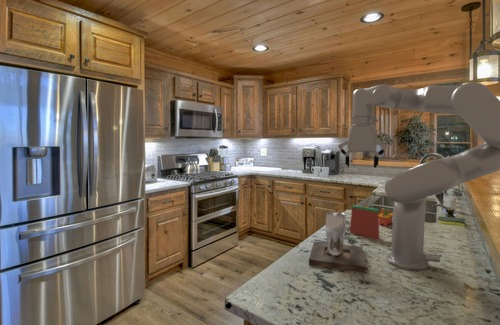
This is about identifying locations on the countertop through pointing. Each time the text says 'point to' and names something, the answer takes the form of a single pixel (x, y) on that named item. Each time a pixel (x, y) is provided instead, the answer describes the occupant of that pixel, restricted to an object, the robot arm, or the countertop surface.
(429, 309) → the countertop surface
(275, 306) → the countertop surface
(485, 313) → the countertop surface
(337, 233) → the beer glass
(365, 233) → the toy building block set
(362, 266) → the coaster board
